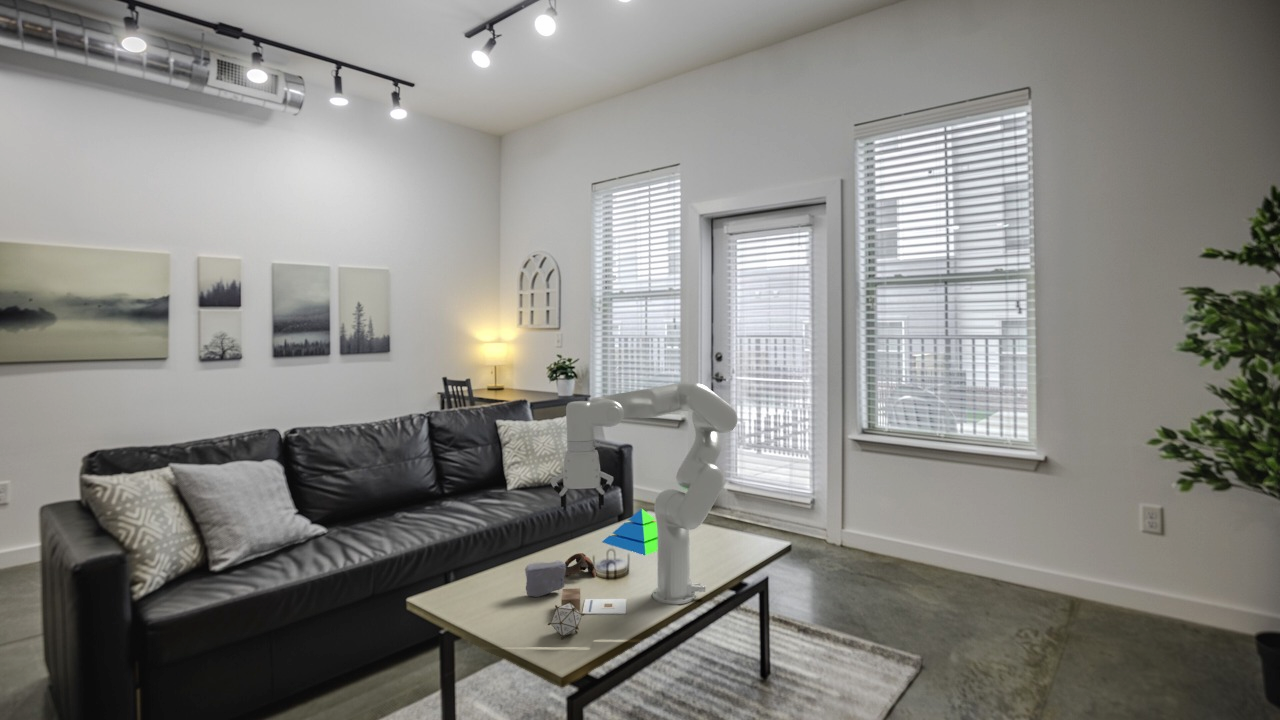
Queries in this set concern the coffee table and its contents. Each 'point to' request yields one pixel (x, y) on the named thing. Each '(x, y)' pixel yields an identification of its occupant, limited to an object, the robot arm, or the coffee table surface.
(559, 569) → the stone block
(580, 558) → the brown arched sculpture
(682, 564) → the robot arm
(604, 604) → the white picture card
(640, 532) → the pyramid toy
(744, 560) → the coffee table surface
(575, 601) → the walnut block
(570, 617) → the game die
